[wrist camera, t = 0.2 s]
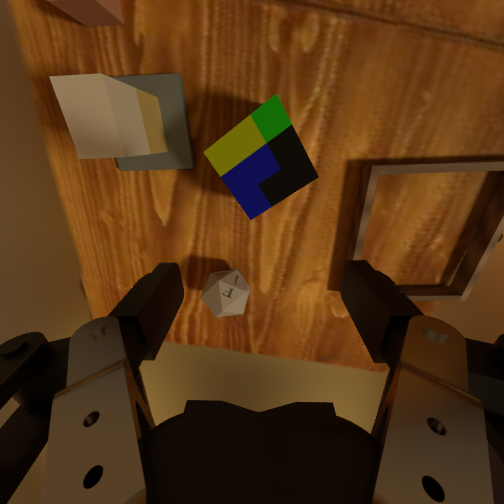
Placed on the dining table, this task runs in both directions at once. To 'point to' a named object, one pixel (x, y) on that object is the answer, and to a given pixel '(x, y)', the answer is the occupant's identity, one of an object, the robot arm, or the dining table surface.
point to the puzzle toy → (262, 159)
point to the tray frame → (485, 239)
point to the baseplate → (164, 123)
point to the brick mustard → (152, 122)
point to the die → (226, 293)
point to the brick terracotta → (92, 11)
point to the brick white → (101, 116)
